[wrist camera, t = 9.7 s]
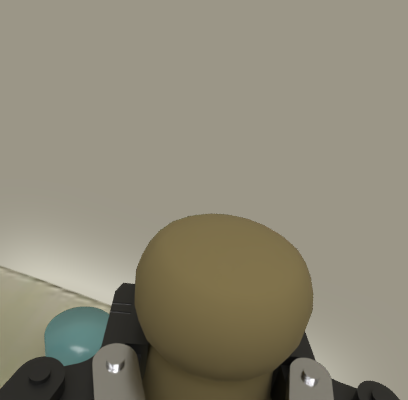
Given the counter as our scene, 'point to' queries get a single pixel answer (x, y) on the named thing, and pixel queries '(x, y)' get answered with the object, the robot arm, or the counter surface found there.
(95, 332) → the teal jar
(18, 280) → the counter surface
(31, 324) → the counter surface
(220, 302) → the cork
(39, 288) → the counter surface
